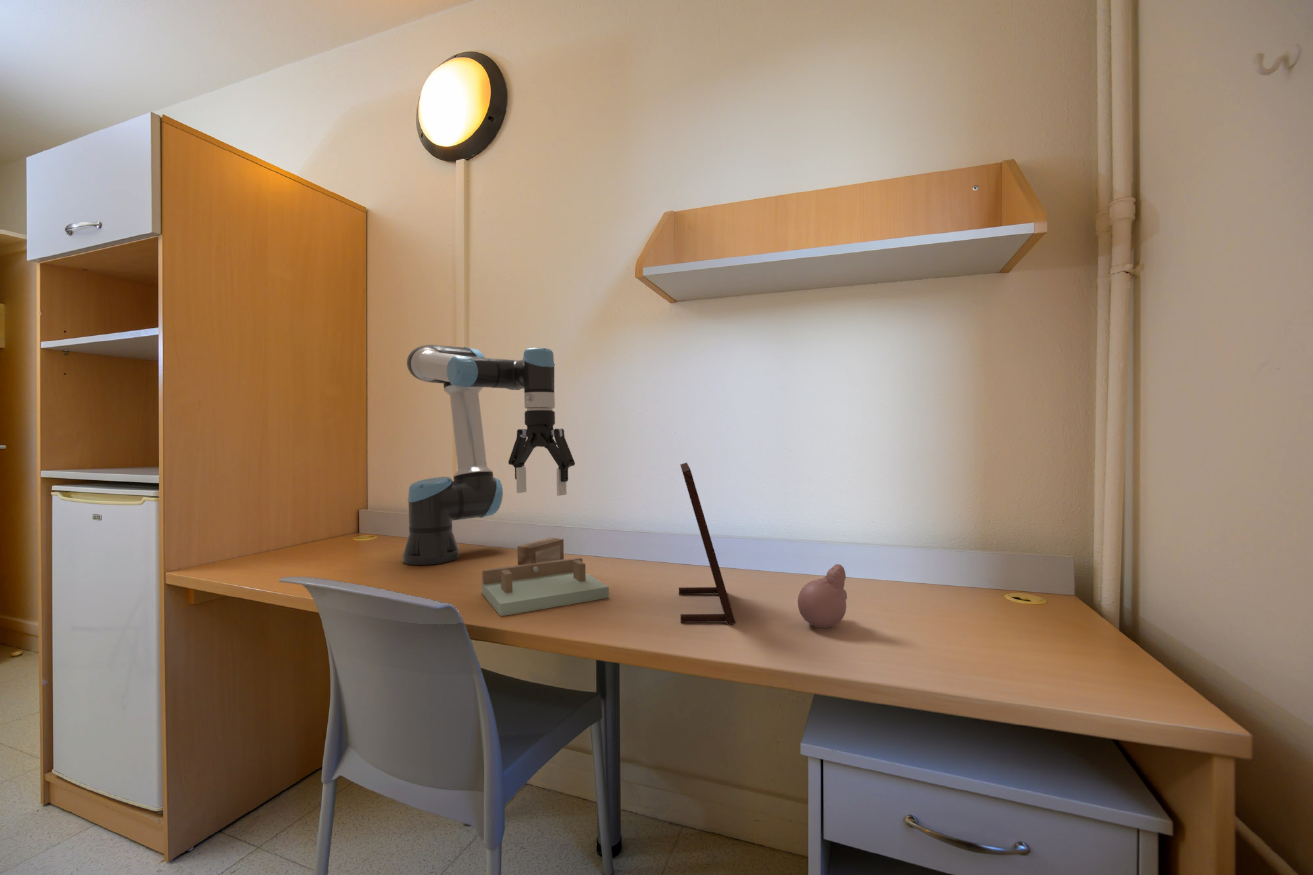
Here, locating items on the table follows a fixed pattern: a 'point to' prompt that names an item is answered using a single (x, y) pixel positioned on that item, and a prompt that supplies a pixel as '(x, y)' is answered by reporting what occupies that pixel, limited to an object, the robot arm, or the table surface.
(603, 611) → the table surface
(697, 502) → the black easel stand
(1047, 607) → the table surface
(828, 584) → the figurine
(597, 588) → the green assembly board
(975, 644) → the table surface
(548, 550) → the walnut frame
